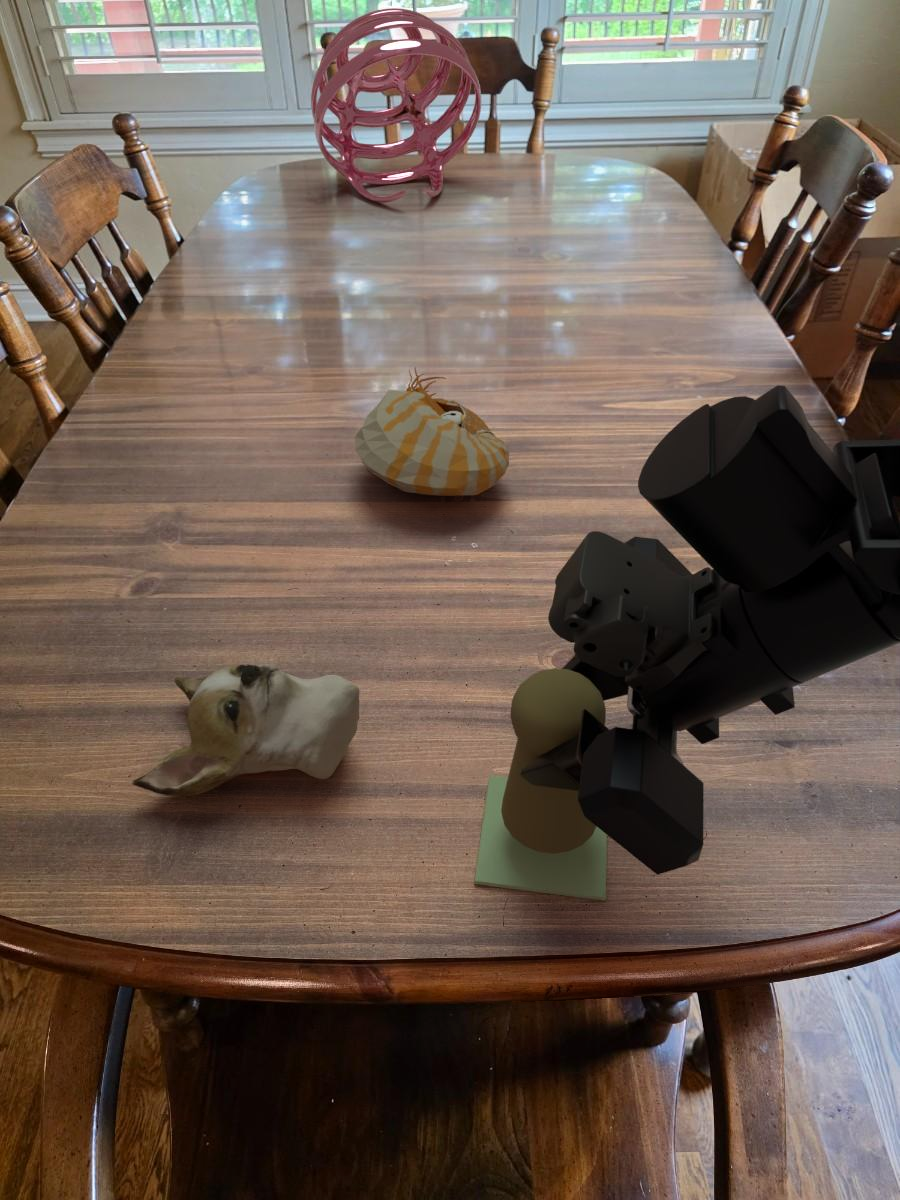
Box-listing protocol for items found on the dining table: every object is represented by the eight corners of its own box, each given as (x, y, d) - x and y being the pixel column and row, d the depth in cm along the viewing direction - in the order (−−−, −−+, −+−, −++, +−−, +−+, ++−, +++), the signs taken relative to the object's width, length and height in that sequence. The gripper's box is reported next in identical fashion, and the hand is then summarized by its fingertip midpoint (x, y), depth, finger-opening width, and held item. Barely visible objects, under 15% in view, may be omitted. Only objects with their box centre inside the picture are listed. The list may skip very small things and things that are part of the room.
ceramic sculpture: (340, 736, 51) (97, 734, 52) (361, 821, 57) (142, 818, 58) (366, 613, 59) (154, 615, 60) (382, 699, 65) (188, 699, 66)
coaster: (607, 791, 58) (608, 788, 58) (605, 901, 52) (605, 897, 52) (489, 778, 59) (489, 774, 59) (474, 884, 53) (474, 881, 53)
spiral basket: (494, 86, 125) (445, -60, 131) (310, 148, 127) (271, 1, 133) (506, 208, 152) (466, 82, 158) (355, 257, 155) (321, 131, 160)
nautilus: (372, 412, 97) (506, 421, 97) (343, 518, 80) (505, 529, 80) (371, 344, 92) (512, 353, 92) (339, 442, 75) (512, 453, 75)
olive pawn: (503, 854, 52) (506, 737, 44) (498, 772, 56) (500, 653, 49) (605, 852, 52) (624, 734, 44) (592, 769, 56) (608, 650, 49)
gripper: (673, 407, 44) (466, 551, 54) (659, 668, 31) (385, 799, 40) (798, 545, 48) (584, 657, 58) (833, 830, 35) (546, 916, 44)
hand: (532, 740), depth 50 cm, fingers closed on olive pawn, 5 cm apart
